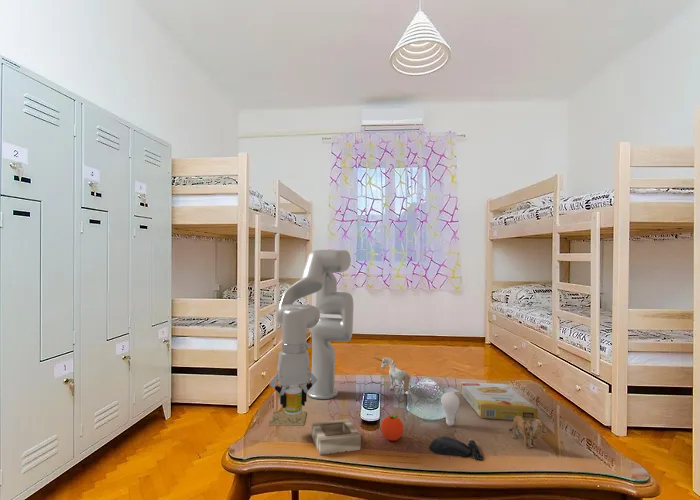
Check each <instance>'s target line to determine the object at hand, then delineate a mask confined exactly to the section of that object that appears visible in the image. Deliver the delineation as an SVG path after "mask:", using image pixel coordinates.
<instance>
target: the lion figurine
mask: <svg viewBox="0 0 700 500" xmlns="http://www.w3.org/2000/svg"><path fill="white" fill-rule="evenodd" d="M512 421H513V422H512V424H513V426H512V427H511V428H508V431H509V432H512V433H513V434H512V439H514V440H517V439H518V438H517V435H518V436H520V435H521V433H522V434H523V437H524V439H523V440H524V448H525V449H528V450H529V449H530V446H531V447H532V448H536V447H537V446H536V444H534V443H535V440H537V439H538V438H541V437H542V436H543V435H545V434H546V432H547V429H548V428H547V427H546V426H544V424H543V423H542V420H541V419H538V418H537V419H532V420H526V421H524V419H523V418H522V417H521V416H516V417H515V418H514V420H512ZM529 440H530V445H529Z"/></svg>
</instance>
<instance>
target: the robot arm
mask: <svg viewBox="0 0 700 500" xmlns="http://www.w3.org/2000/svg"><path fill="white" fill-rule="evenodd" d="M351 262H352V261H351V255H350V253H349V251H348V250H344V249H316V250H315V249H314V250H311V251H310V253H309V254H308V255H307V258H306V260H305V264H304V267H303V270H302V273H301V277H300V279H299V280H298V281H296V282H294V283H293V284H291V286H290V287H288V288H287V289H286V290H285V291H284V292H283V294H282V297H281V298H280V301H279V305H278V307H277V310H276V311H277V312H276V321H277V323H278V324H279V326H282V334H281V335H282V339H281V340H282V341H281V343H282V344H281V345H282V346H281V347H282V349H281V351H279V353H278V360H277V368H276V371H277V372H276V374H275V376H273V378H271V380H270V381H269V386H270V387H271V388H273V389H274V390H275V391H276V392H277V393H278V394H279V404H280V405H281V406H282V409H285V407H286V395H285V389H286V387H287V386H290V385H299V386H301V387H302V407H303V406H305V404H306V403H307V401H308V399H307V397H309V398H311V399H315V400H328V399H329V400H330V399H333V398H335V397H337V396H338V390H337V389H336V388H335V370H336V369H335V368H336V367H335V365H336V364H335V362H336V351H335V347H334V346H333V345H332V343H331V342H341V343H347V342H350V341H351V339H352V336H353V327H354V325H353V324H354V298H353V295H352V294H351V293H349V292H346V291H337V284H338V279H337V278H336V276H335V274H334V273H343V272H346V271H348V270H349V268H350V266H351ZM313 294H315V305H312V304H310V305H309V304H294V303H295V302H297V301H298V300H300V299H301V298H305V297H307V296H310V295H313ZM321 314H322V315H332V316H333V315H335V316H336V315H337V316H338V315H339V316H340V317H341V318H339V317H326V316H325V317H322V316H321ZM307 329H310V335H311V342H307ZM311 346H312V348H311ZM310 348H311V350H312V351H311V363H310V355H309V351H308V349H310ZM310 364H311V365H310ZM277 383H278V384H277Z"/></svg>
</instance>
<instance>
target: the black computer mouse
mask: <svg viewBox="0 0 700 500" xmlns="http://www.w3.org/2000/svg"><path fill="white" fill-rule="evenodd" d="M428 448H429V450H430V451H431V452H432V453H434V454H436V455H442V456H453V457H459V456H460V457H461V458H465V457H466V456H468V458H470V457H471V456H472V457H473V458H472V460H475V461H477V460H479V462H482V461H483V460H484V457H483V455H482V452H481V451H480V450H479V447H478V445H477V444H476V442H475V440H473V439H471V438H469V439H468V444H465V443H464V442H462V441H460V440H458V439H455V438H453V437H450V436H445V435H444V436H439V437H436V438H435V439H433V440H432V441H431V443H430V445H429V447H428ZM460 457H459V458H460Z"/></svg>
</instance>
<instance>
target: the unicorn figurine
mask: <svg viewBox="0 0 700 500" xmlns="http://www.w3.org/2000/svg"><path fill="white" fill-rule="evenodd" d="M373 358H374V359H376V360H378V361H380V362H381V369H382V370H384V369H385V368H386V366H387V365H388V367H389V369H388V370H389V371H388V376H389V379H390V380H389V381H390V387H389V388H392V389H393V390H394V389H395V388H394V386H397V382H398V386H397V388H396V390H395V394H396V393H398V392H399V393H400V391H401V390H400V389H401V388H402V386H403V394H404V393H405V392H406V391H408V390H409V387H410V382H411V377H410V374H409V373H408V372H406V371H405V370H403V369H399V368H398V366H397V365H396V362H395V361H394V360H393V359H392V358H391V357H387V356H385V357H382V359H381V358H378V357H375V356H373ZM395 380H397V382H396V381H395ZM402 381H403V385H402Z"/></svg>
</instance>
